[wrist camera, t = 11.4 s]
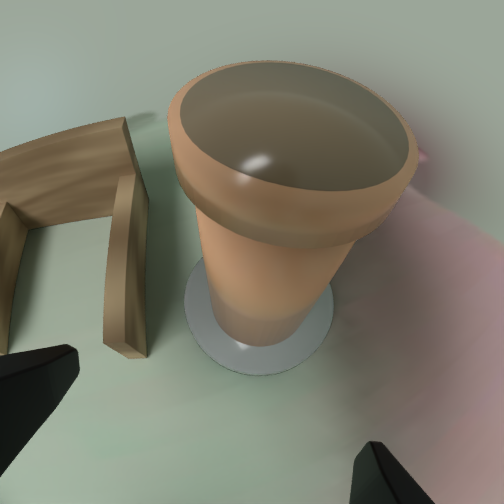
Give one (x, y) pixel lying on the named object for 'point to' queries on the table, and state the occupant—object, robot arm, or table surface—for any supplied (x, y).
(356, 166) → the terracotta pot
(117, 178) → the wooden cradle holder
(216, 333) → the grey saucer
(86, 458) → the table surface
